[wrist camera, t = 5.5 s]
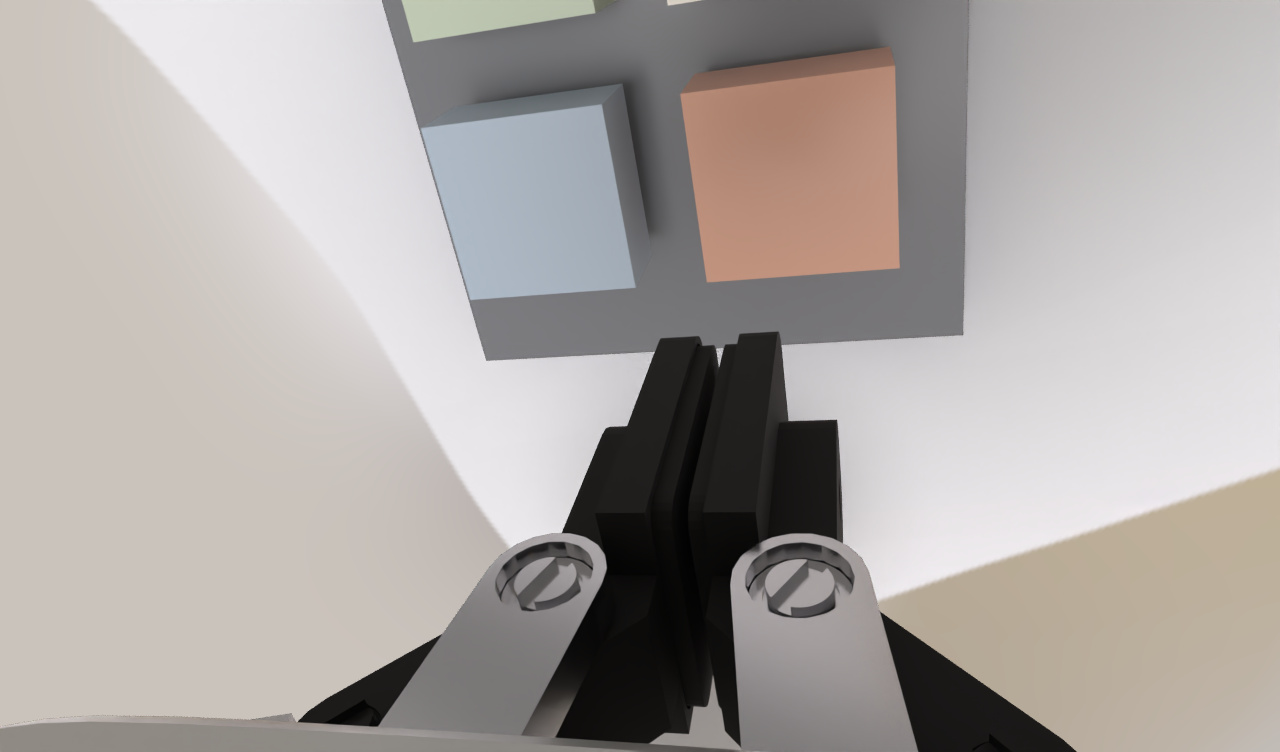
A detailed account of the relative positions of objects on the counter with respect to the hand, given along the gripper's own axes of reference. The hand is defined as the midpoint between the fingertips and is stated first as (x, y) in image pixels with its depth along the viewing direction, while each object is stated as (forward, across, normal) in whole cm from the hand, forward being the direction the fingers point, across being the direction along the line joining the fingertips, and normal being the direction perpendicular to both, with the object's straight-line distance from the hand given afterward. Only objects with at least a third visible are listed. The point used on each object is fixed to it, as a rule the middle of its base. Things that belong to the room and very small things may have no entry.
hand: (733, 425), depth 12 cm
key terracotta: (+13, 0, 0) cm, 13 cm away
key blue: (+13, +7, 0) cm, 15 cm away
